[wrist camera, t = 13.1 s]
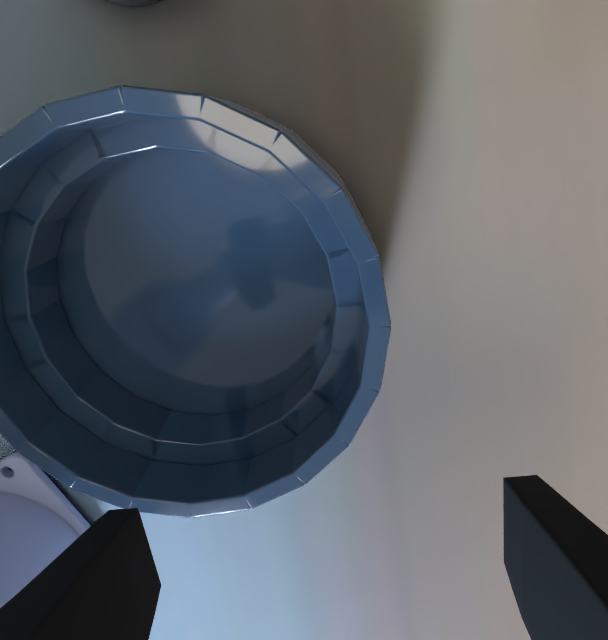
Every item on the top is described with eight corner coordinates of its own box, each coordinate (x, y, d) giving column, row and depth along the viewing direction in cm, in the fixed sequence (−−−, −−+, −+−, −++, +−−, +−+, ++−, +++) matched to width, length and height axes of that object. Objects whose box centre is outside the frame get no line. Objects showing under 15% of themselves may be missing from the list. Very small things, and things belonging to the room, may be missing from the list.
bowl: (160, 483, 21) (119, 570, 17) (-47, 222, 18) (-161, 252, 14) (434, 349, 19) (465, 413, 15) (253, 14, 15) (225, -29, 11)
